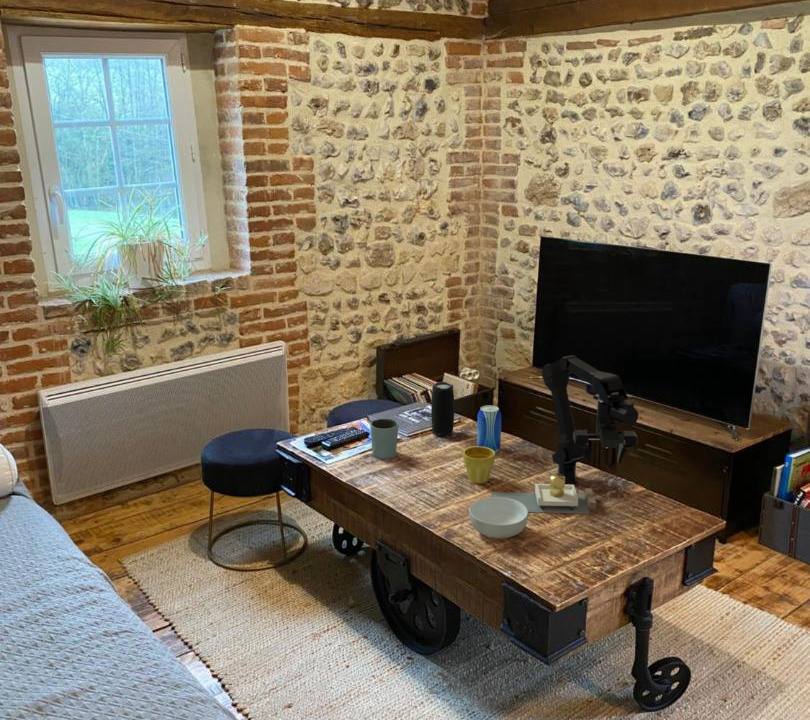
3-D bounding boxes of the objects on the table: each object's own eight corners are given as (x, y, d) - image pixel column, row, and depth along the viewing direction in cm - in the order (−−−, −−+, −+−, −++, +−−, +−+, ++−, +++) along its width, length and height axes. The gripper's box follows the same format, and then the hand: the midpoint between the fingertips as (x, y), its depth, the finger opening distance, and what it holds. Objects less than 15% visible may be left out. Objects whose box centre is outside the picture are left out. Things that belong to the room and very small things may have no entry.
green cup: (382, 446, 293) (381, 416, 289) (404, 453, 287) (404, 421, 283) (364, 456, 285) (364, 424, 281) (387, 462, 279) (387, 430, 276)
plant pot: (479, 489, 258) (479, 461, 255) (456, 479, 266) (456, 451, 263) (500, 480, 265) (501, 452, 262) (478, 470, 272) (478, 443, 269)
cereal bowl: (458, 524, 236) (459, 502, 234) (508, 513, 242) (508, 492, 240) (486, 551, 221) (487, 528, 219) (538, 539, 227) (539, 516, 225)
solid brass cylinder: (548, 490, 250) (549, 473, 248) (563, 491, 249) (564, 473, 248) (550, 497, 245) (551, 479, 244) (564, 497, 245) (565, 479, 243)
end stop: (584, 496, 252) (584, 488, 252) (590, 497, 252) (591, 488, 251) (589, 511, 243) (589, 502, 242) (595, 511, 243) (596, 502, 242)
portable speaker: (433, 438, 299) (433, 389, 294) (429, 429, 308) (429, 381, 303) (456, 437, 300) (456, 388, 295) (451, 428, 309) (451, 380, 304)
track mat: (491, 492, 256) (491, 492, 256) (583, 494, 254) (583, 494, 254) (493, 511, 243) (493, 510, 243) (589, 513, 241) (589, 513, 241)
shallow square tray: (534, 494, 253) (535, 483, 252) (573, 495, 253) (573, 484, 251) (537, 509, 244) (538, 498, 243) (577, 510, 243) (578, 499, 242)
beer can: (501, 454, 285) (502, 412, 280) (477, 454, 285) (478, 412, 280) (499, 445, 293) (500, 404, 288) (476, 445, 293) (476, 404, 288)
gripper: (579, 425, 236) (576, 473, 241) (643, 426, 235) (639, 475, 239) (574, 411, 247) (571, 458, 251) (635, 413, 245) (632, 460, 250)
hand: (603, 463), depth 248 cm, fingers open, 9 cm apart
